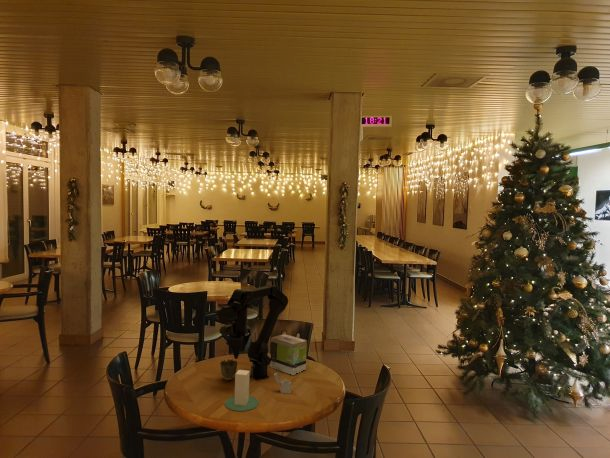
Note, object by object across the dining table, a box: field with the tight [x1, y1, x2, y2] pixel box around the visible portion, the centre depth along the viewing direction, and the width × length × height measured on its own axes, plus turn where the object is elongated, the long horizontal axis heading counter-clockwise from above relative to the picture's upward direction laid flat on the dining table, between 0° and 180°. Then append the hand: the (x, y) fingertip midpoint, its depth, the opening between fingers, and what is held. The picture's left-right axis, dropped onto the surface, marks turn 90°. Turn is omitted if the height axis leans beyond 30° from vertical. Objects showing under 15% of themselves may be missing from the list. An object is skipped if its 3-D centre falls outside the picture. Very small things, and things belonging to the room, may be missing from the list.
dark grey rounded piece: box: [219, 358, 238, 382], centre depth 190 cm, size 8×7×8 cm
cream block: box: [234, 369, 251, 406], centre depth 168 cm, size 4×4×12 cm
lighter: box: [273, 372, 292, 394], centre depth 180 cm, size 7×2×8 cm, turn 86°
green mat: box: [224, 395, 260, 412], centre depth 168 cm, size 13×13×1 cm
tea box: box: [269, 333, 308, 376], centre depth 206 cm, size 15×10×15 cm
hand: (239, 355), depth 185 cm, fingers open, 9 cm apart
